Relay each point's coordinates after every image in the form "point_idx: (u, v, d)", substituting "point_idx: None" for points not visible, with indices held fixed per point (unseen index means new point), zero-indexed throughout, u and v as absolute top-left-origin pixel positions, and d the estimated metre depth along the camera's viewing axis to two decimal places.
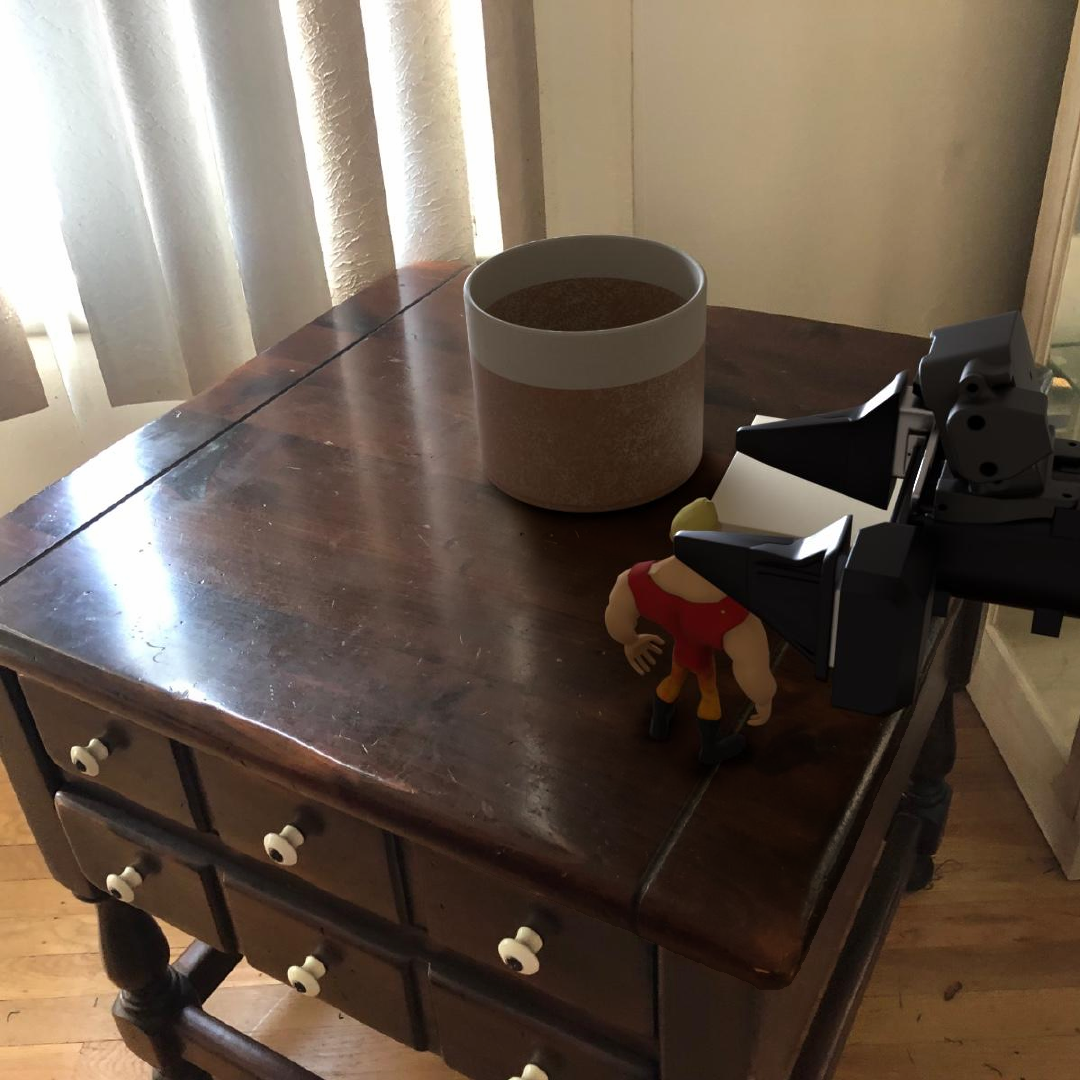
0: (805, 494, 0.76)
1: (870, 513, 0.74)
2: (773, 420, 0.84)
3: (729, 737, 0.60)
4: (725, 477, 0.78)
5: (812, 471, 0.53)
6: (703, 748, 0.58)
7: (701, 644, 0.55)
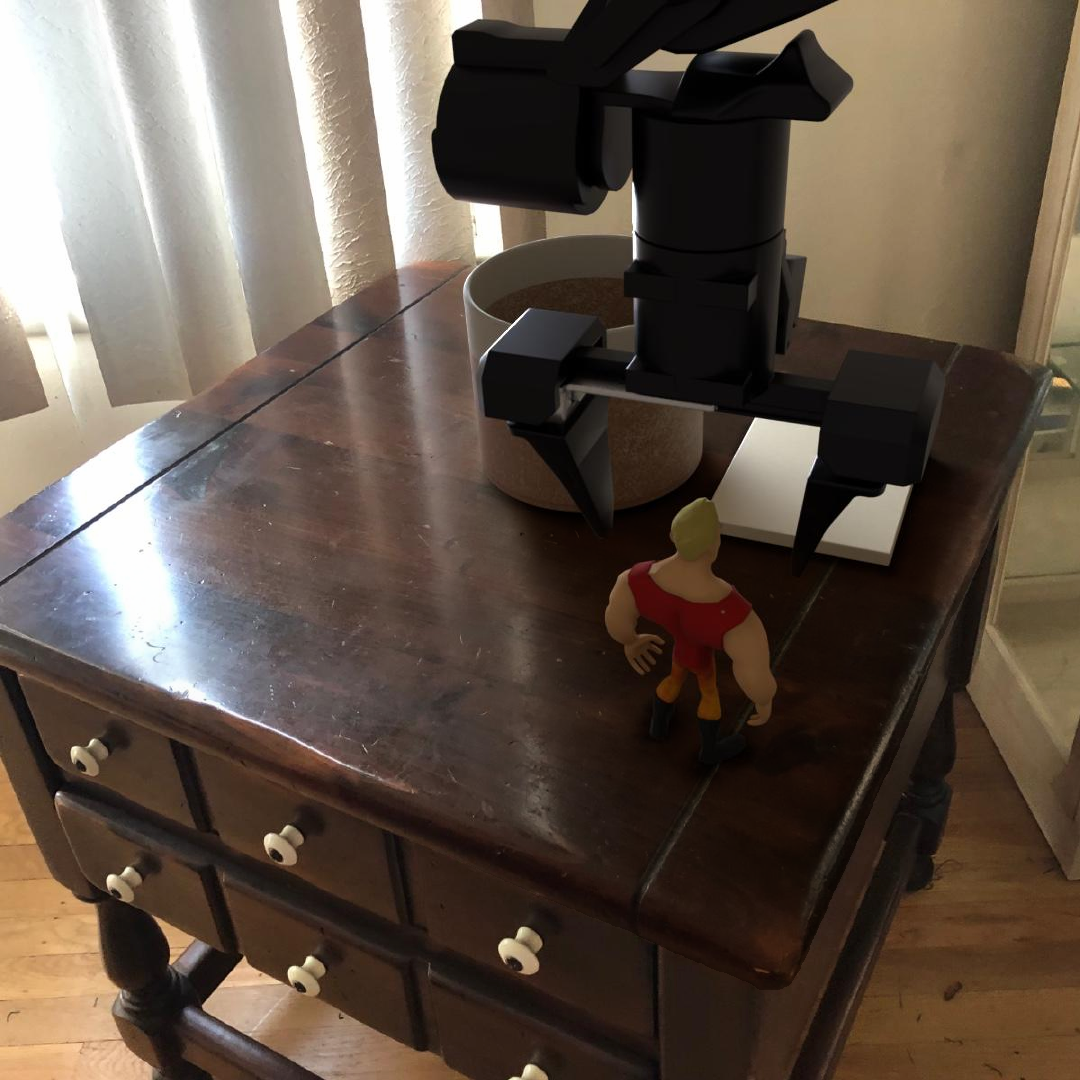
0: None
1: (870, 513, 0.74)
2: (773, 420, 0.84)
3: (729, 737, 0.60)
4: (725, 477, 0.78)
5: None
6: (703, 748, 0.58)
7: (701, 644, 0.55)
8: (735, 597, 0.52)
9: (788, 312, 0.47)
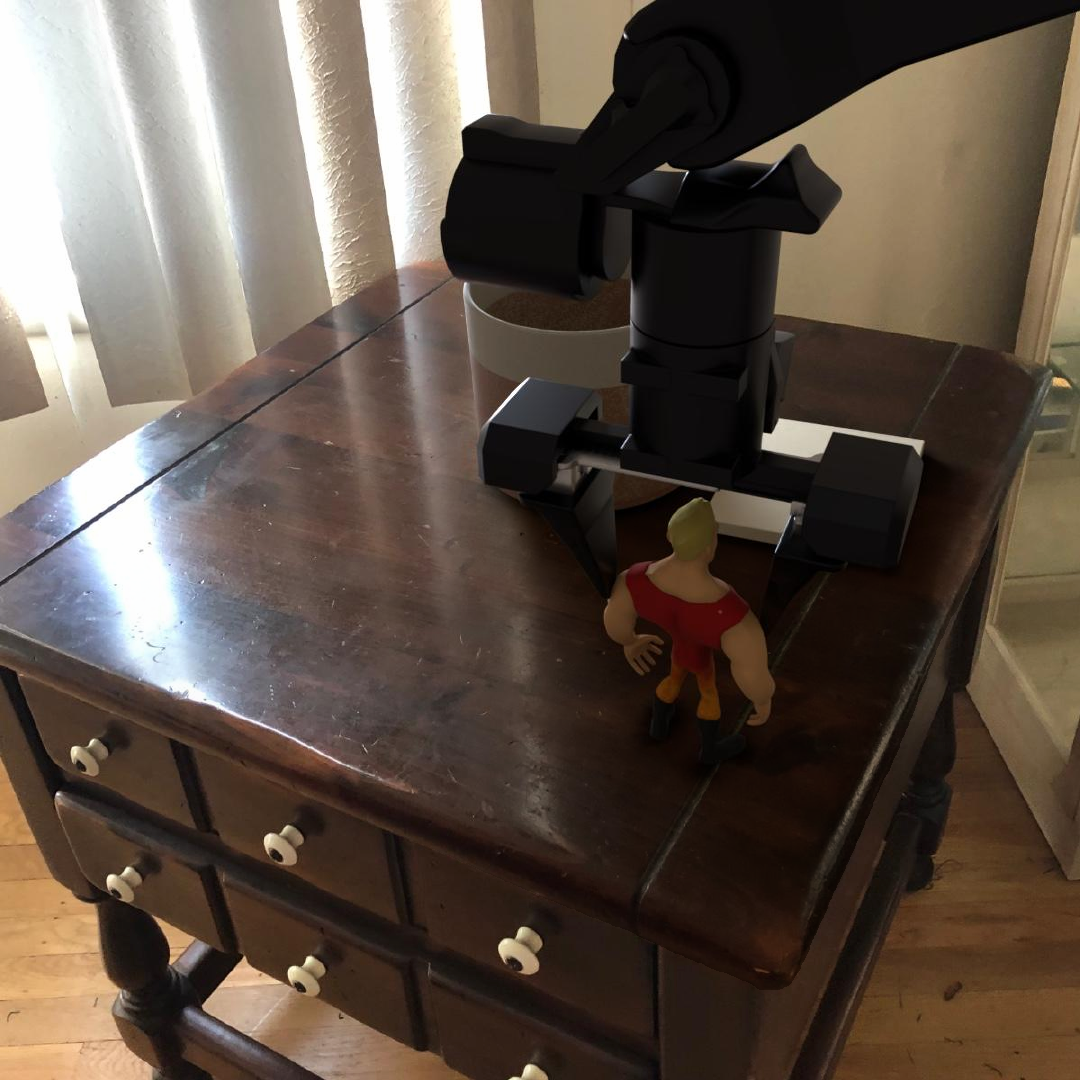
0: None
1: None
2: None
3: (729, 737, 0.60)
4: None
5: None
6: (703, 748, 0.58)
7: (699, 644, 0.55)
8: (733, 597, 0.52)
9: (776, 395, 0.49)
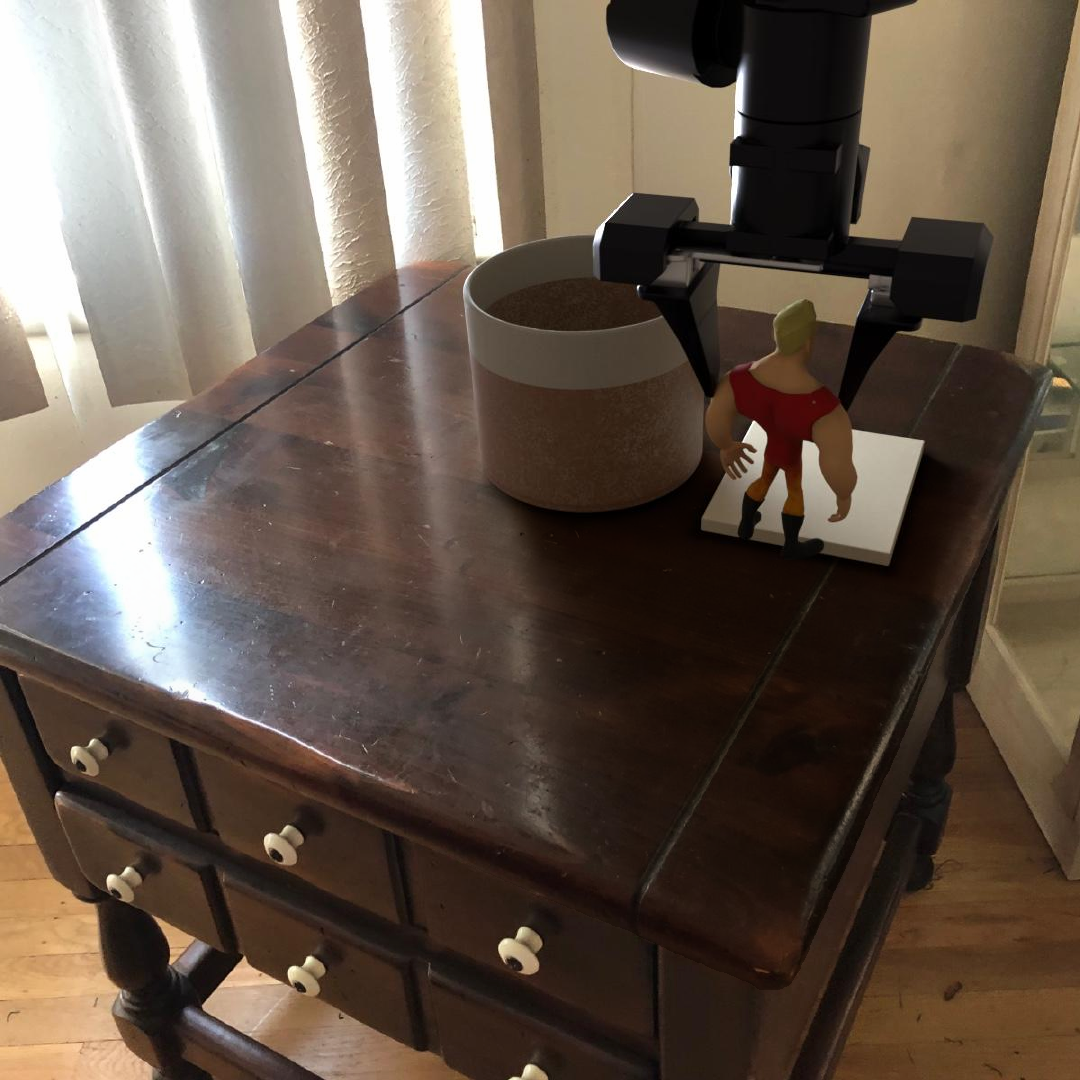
0: (805, 494, 0.76)
1: (870, 513, 0.74)
2: None
3: (809, 539, 0.66)
4: (725, 477, 0.78)
5: None
6: (785, 544, 0.65)
7: (791, 438, 0.61)
8: (826, 391, 0.59)
9: (860, 186, 0.56)
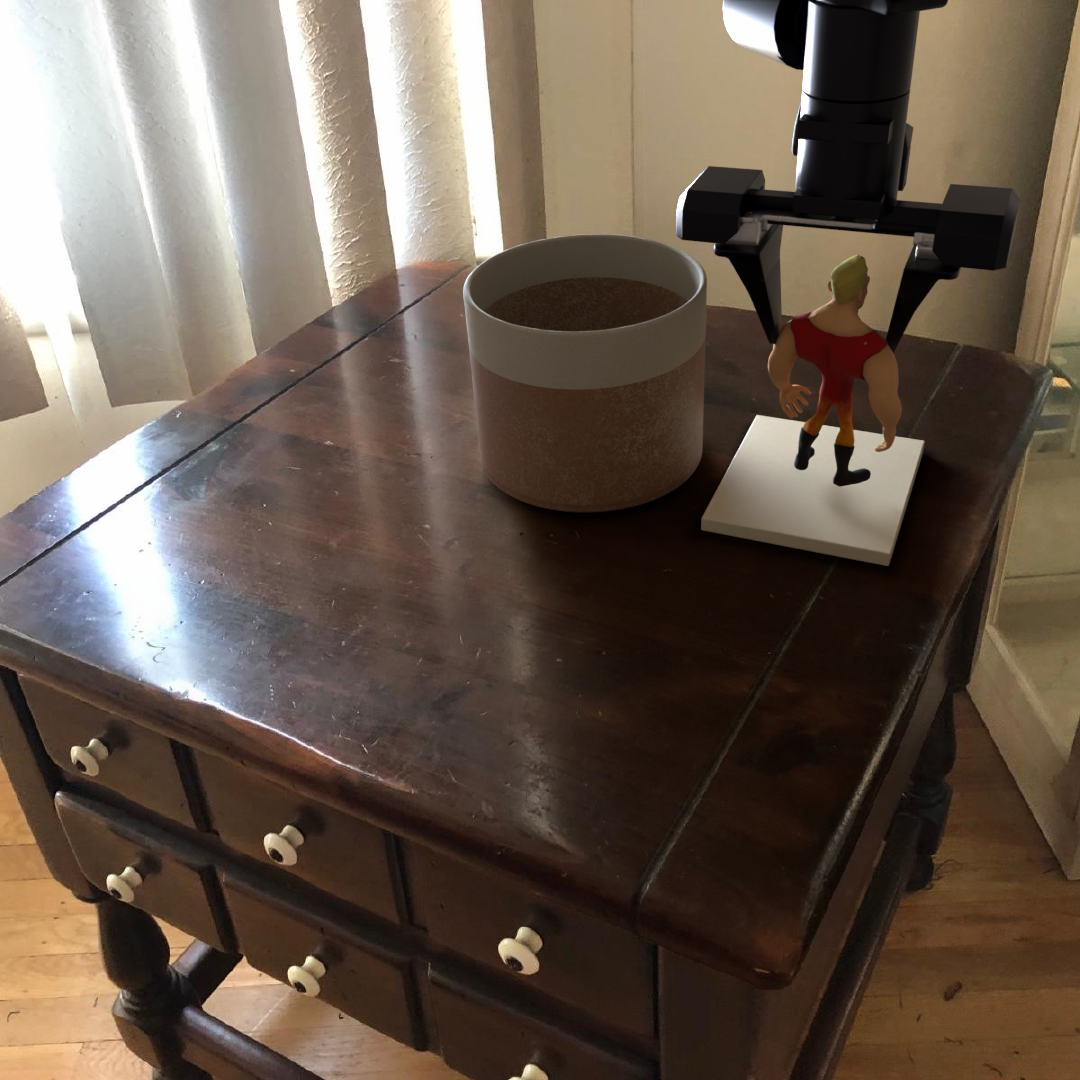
0: (805, 494, 0.76)
1: (870, 513, 0.74)
2: (773, 420, 0.84)
3: (858, 469, 0.75)
4: (725, 477, 0.78)
5: None
6: (837, 472, 0.74)
7: (844, 377, 0.71)
8: (876, 334, 0.68)
9: (906, 158, 0.66)
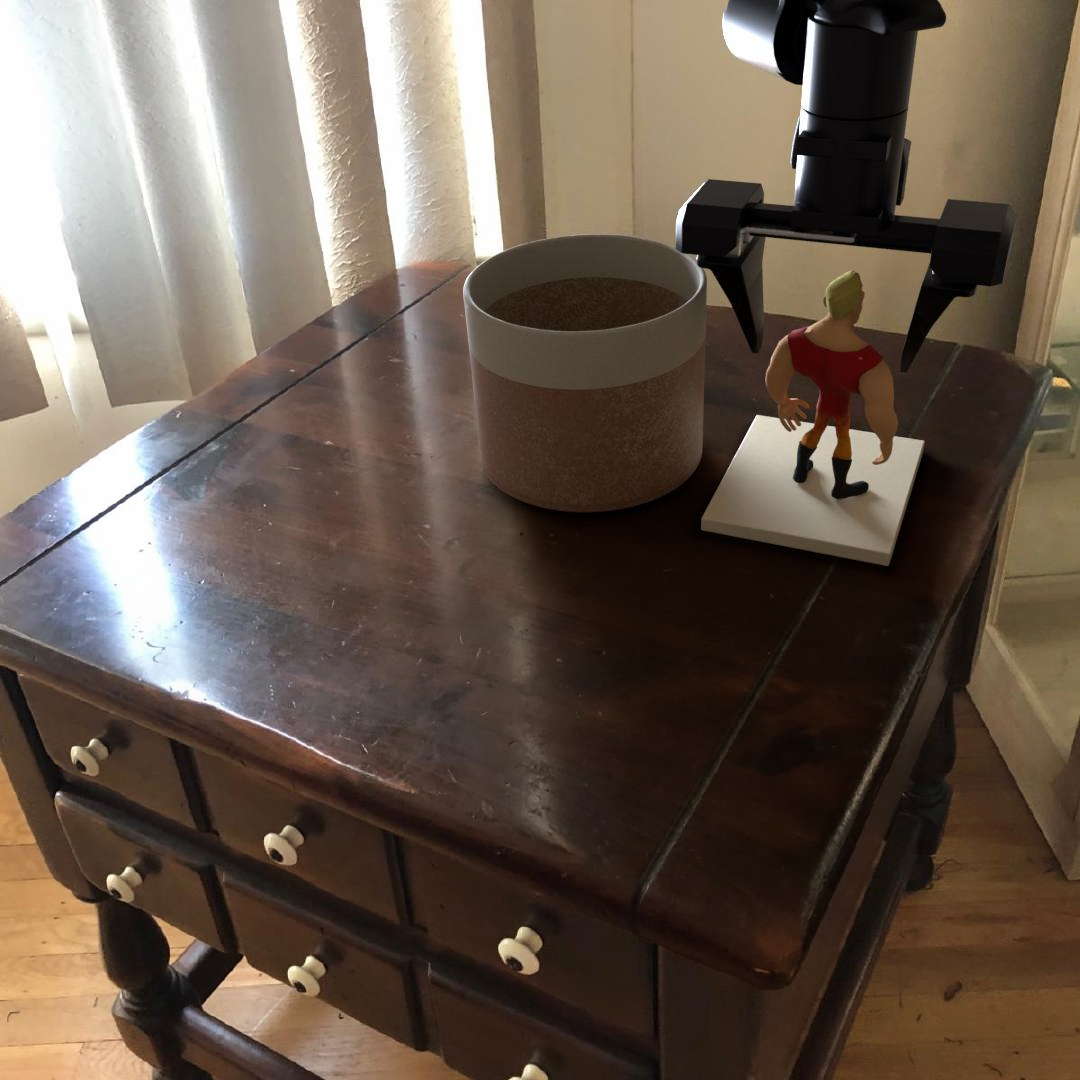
0: (805, 494, 0.76)
1: (870, 513, 0.74)
2: (773, 420, 0.84)
3: (856, 482, 0.76)
4: (725, 477, 0.78)
5: None
6: (835, 485, 0.75)
7: (841, 391, 0.71)
8: (871, 349, 0.69)
9: (904, 173, 0.66)
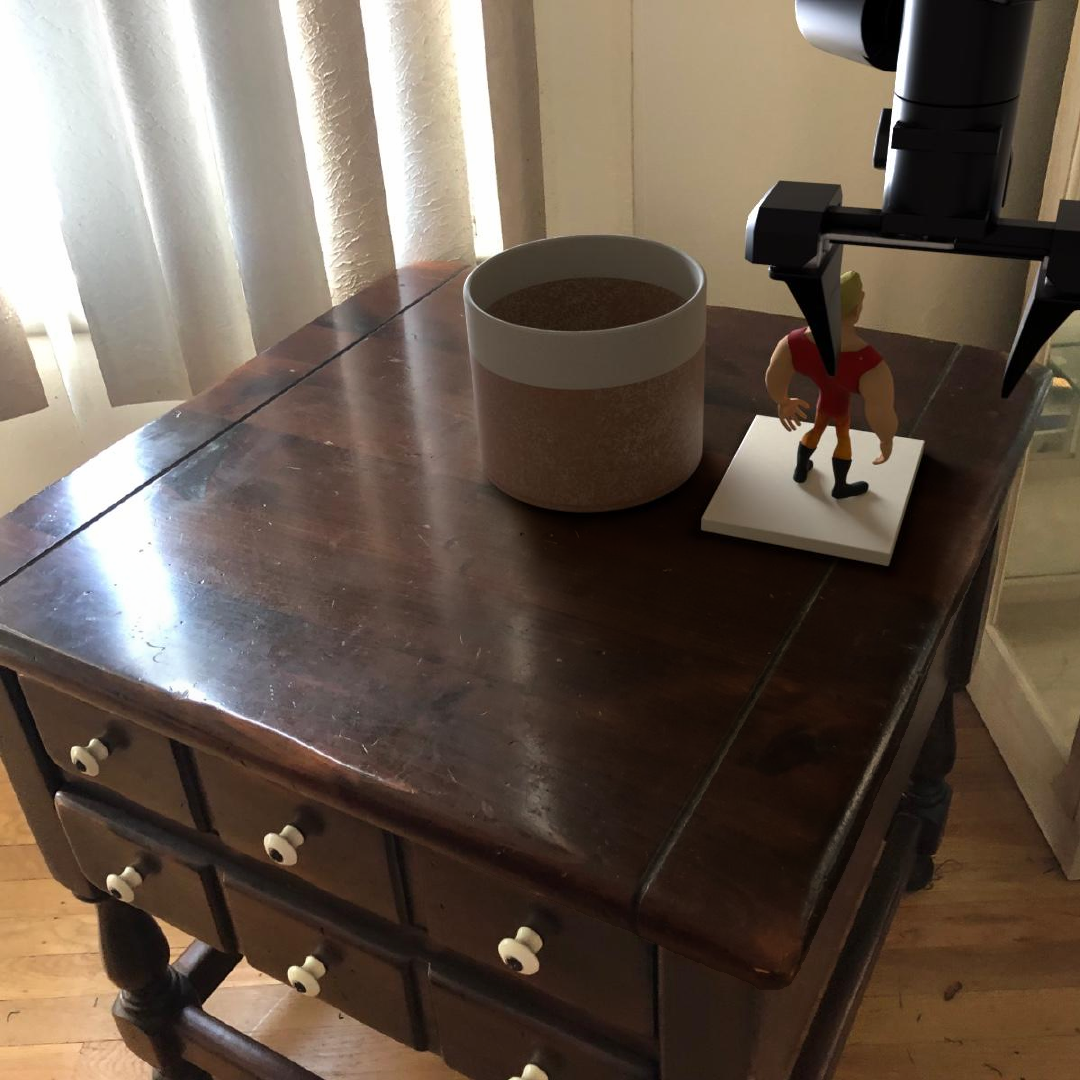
0: (805, 494, 0.76)
1: (870, 513, 0.74)
2: (773, 420, 0.84)
3: (856, 482, 0.76)
4: (725, 477, 0.78)
5: (1015, 344, 0.59)
6: (835, 485, 0.75)
7: (841, 391, 0.71)
8: (871, 349, 0.69)
9: (1010, 170, 0.58)
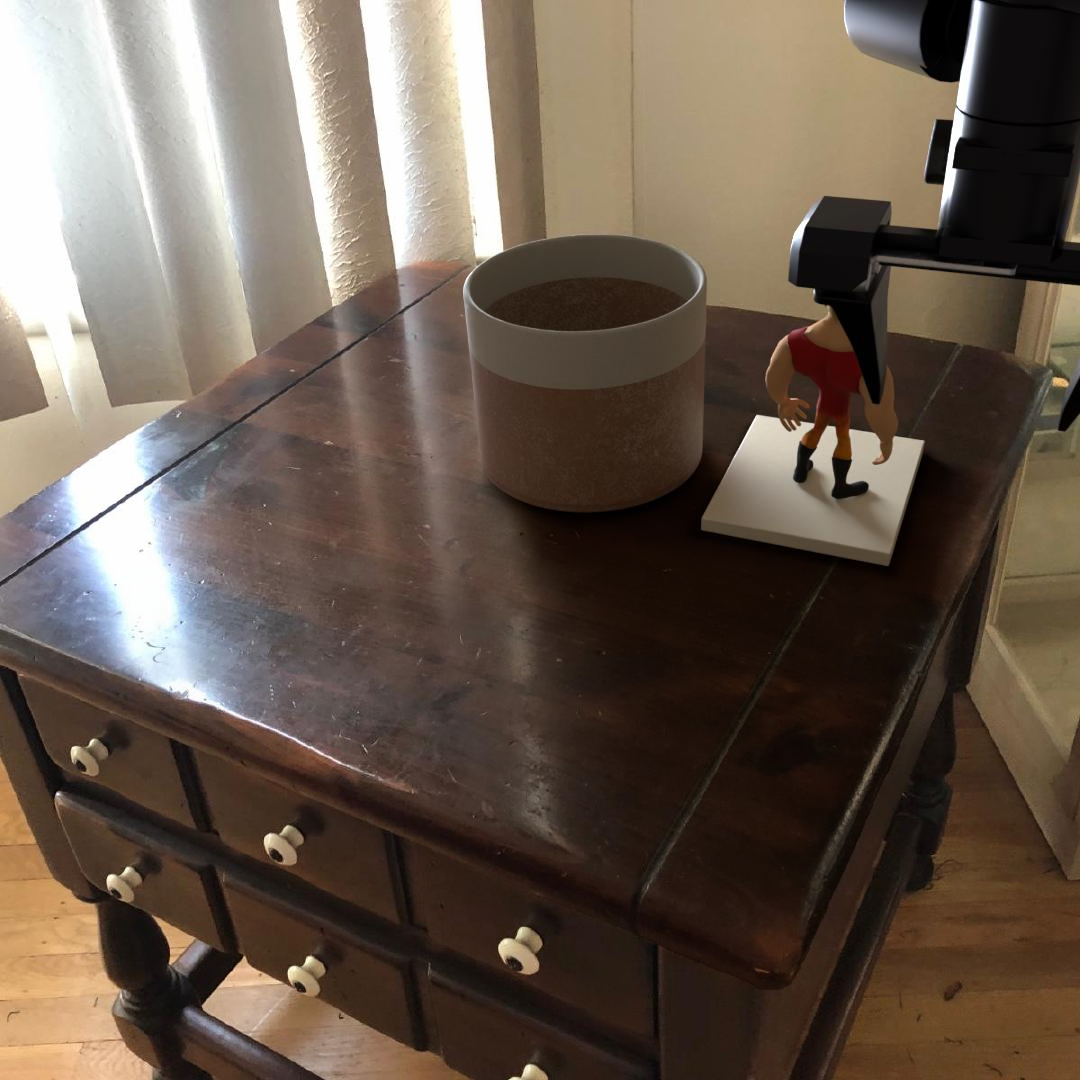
0: (805, 494, 0.76)
1: (870, 513, 0.74)
2: (773, 420, 0.84)
3: (856, 482, 0.76)
4: (725, 477, 0.78)
5: (1077, 376, 0.56)
6: (835, 485, 0.75)
7: (841, 391, 0.71)
8: None
9: (1076, 189, 0.54)
